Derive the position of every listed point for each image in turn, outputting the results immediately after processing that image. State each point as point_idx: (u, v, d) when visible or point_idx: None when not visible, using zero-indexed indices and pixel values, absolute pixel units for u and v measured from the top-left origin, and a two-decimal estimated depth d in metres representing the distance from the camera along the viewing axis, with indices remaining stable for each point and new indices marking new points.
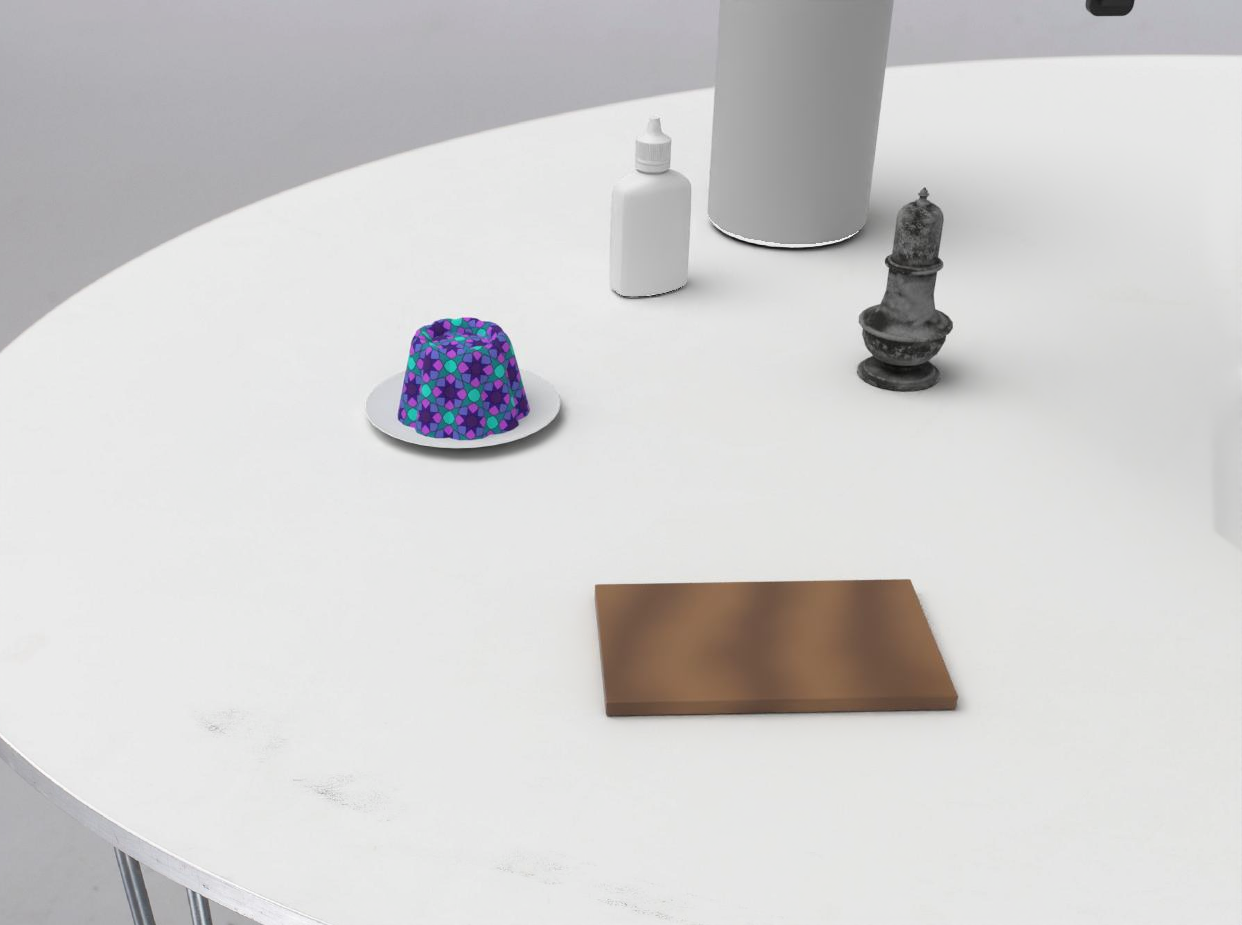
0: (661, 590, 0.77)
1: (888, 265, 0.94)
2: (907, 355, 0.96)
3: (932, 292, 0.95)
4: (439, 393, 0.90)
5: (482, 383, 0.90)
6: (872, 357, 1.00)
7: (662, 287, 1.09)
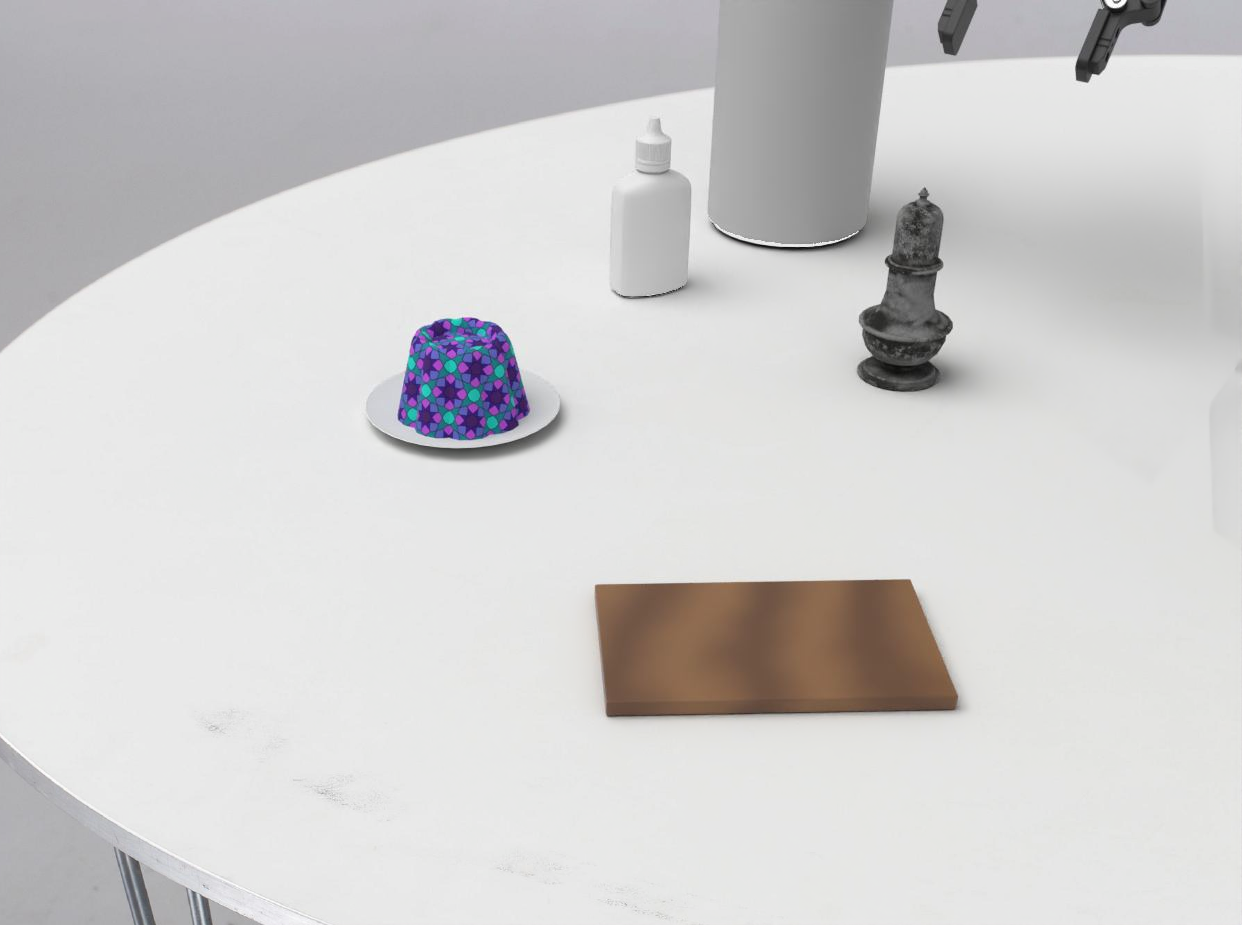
0: (661, 590, 0.77)
1: (888, 265, 0.94)
2: (907, 355, 0.96)
3: (932, 292, 0.95)
4: (439, 393, 0.90)
5: (482, 383, 0.90)
6: (872, 357, 1.00)
7: (662, 287, 1.09)
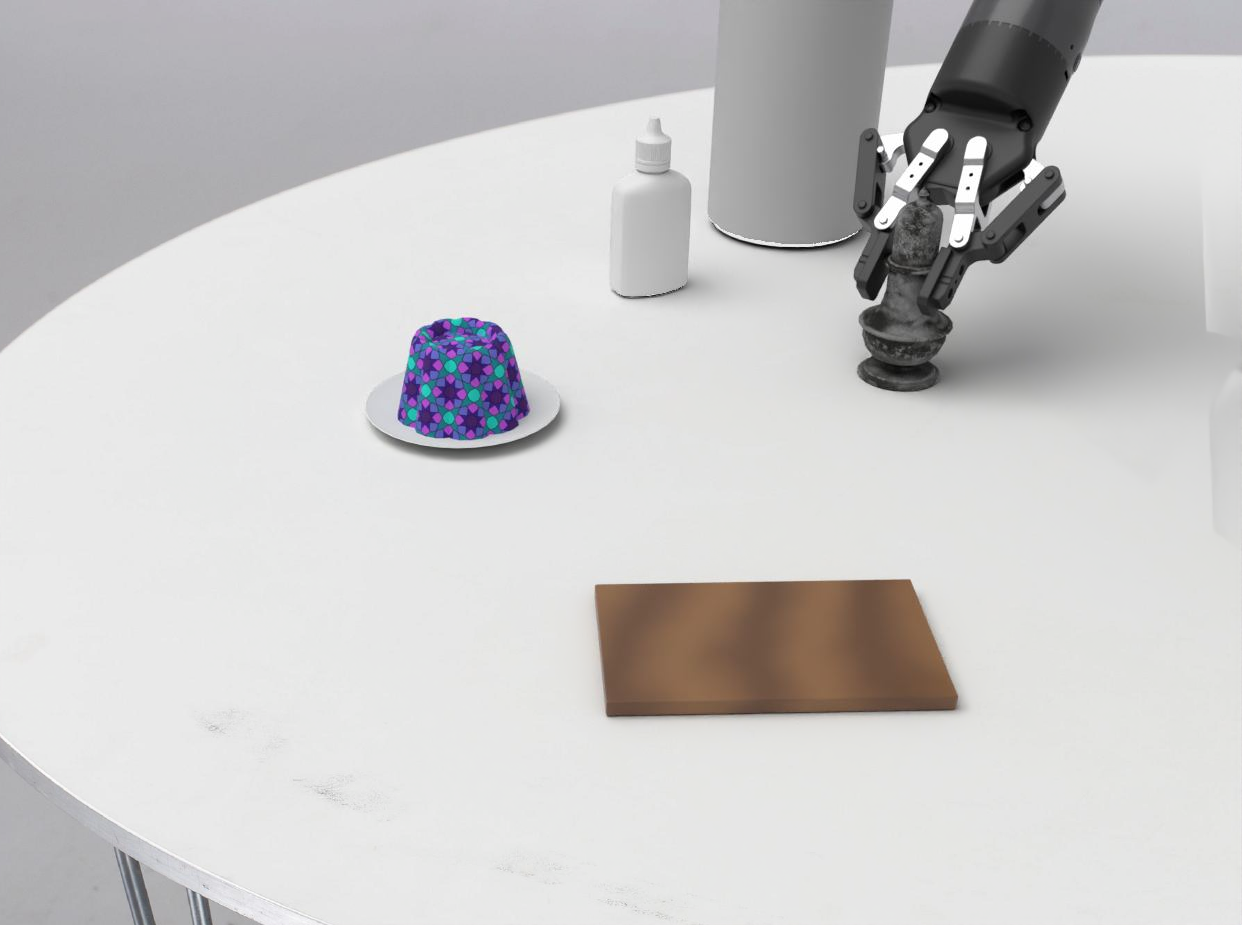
0: (661, 590, 0.77)
1: (888, 265, 0.94)
2: (907, 354, 0.96)
3: None
4: (439, 393, 0.90)
5: (482, 383, 0.90)
6: (872, 357, 1.00)
7: (662, 287, 1.09)
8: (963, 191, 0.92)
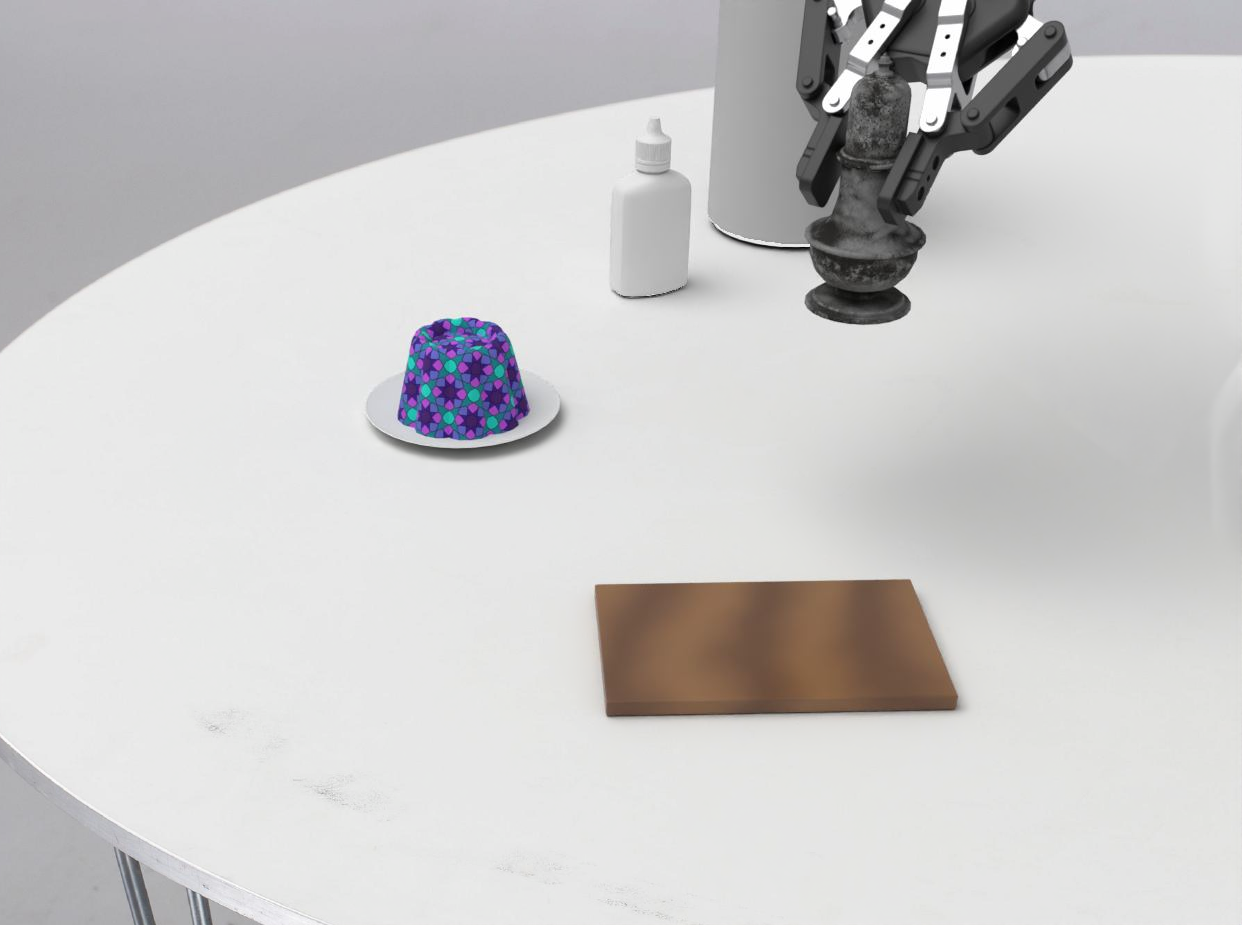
0: (661, 590, 0.77)
1: (840, 158, 0.72)
2: (865, 276, 0.74)
3: None
4: (439, 393, 0.90)
5: (482, 383, 0.90)
6: (824, 284, 0.78)
7: (662, 287, 1.09)
8: (937, 58, 0.70)
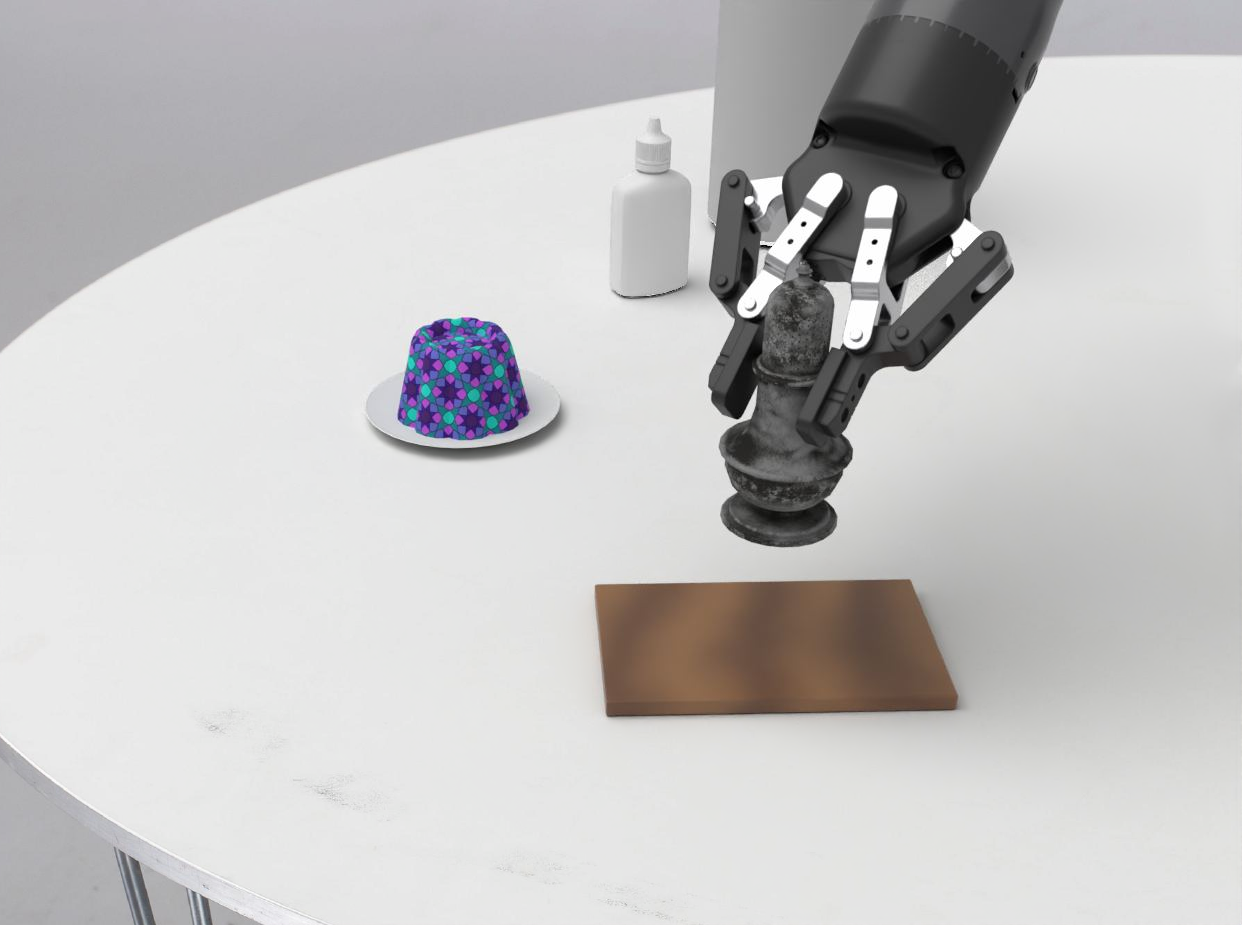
0: (661, 590, 0.77)
1: (756, 371, 0.65)
2: (785, 498, 0.66)
3: None
4: (439, 393, 0.90)
5: (482, 383, 0.90)
6: None
7: (662, 287, 1.09)
8: (863, 266, 0.63)
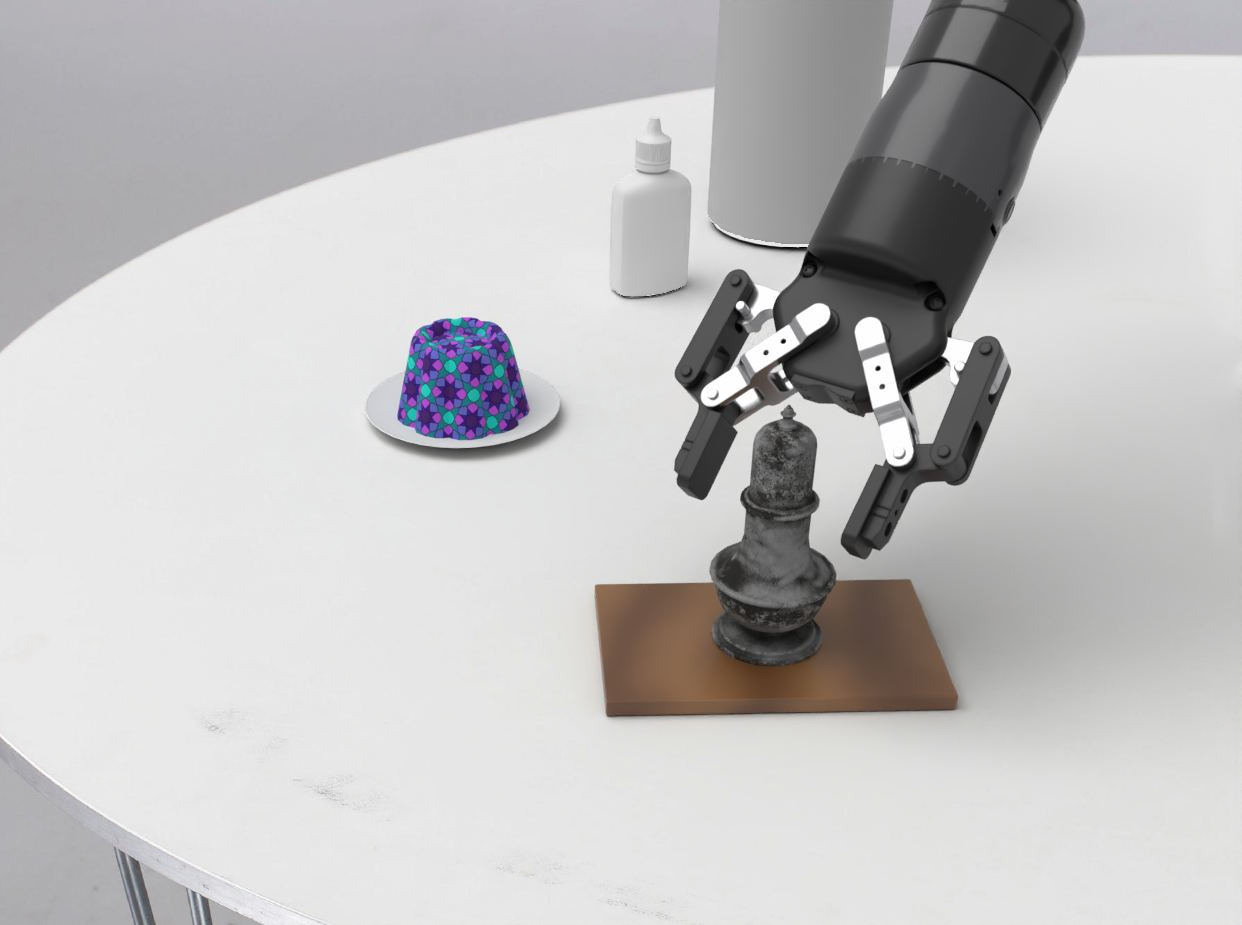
0: (661, 590, 0.77)
1: (744, 504, 0.69)
2: (772, 622, 0.70)
3: (805, 539, 0.69)
4: (439, 393, 0.90)
5: (482, 383, 0.90)
6: None
7: (662, 287, 1.09)
8: (878, 392, 0.66)
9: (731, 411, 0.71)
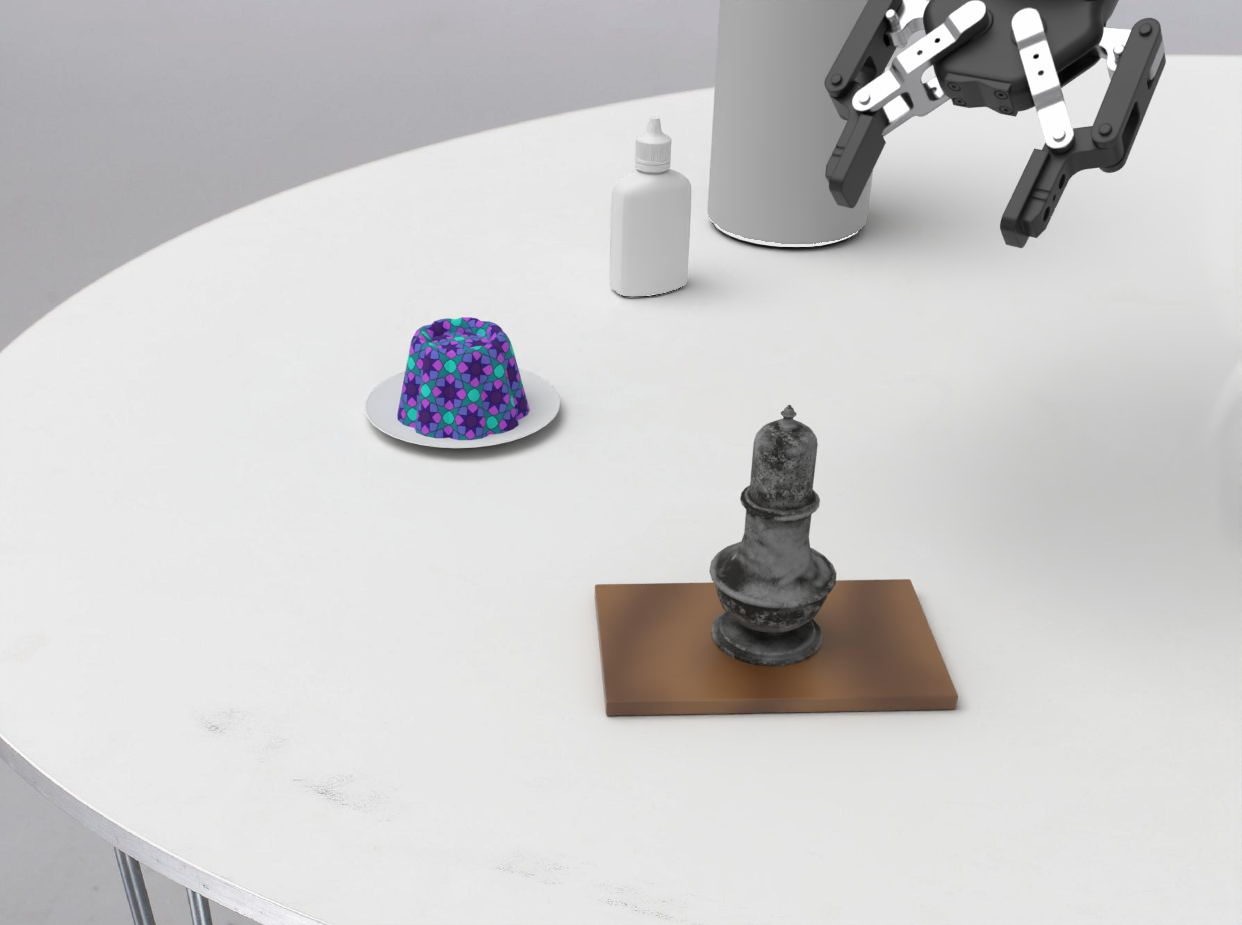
0: (661, 590, 0.77)
1: (744, 504, 0.69)
2: (772, 622, 0.70)
3: (805, 539, 0.69)
4: (439, 393, 0.90)
5: (482, 383, 0.90)
6: None
7: (662, 287, 1.09)
8: (1036, 78, 0.67)
9: (881, 119, 0.72)
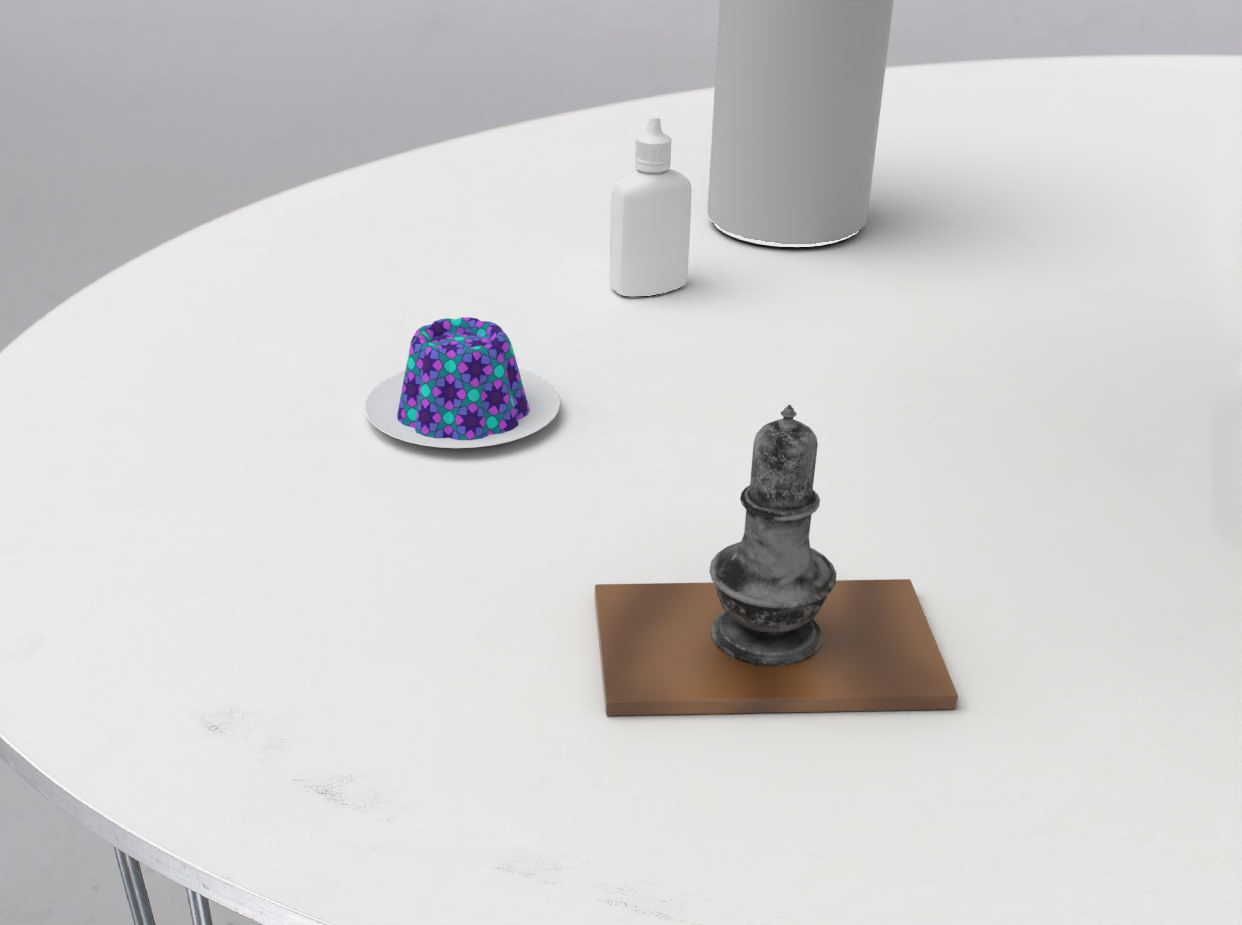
0: (661, 590, 0.77)
1: (744, 504, 0.69)
2: (772, 622, 0.70)
3: (805, 539, 0.69)
4: (439, 393, 0.90)
5: (482, 383, 0.90)
6: None
7: (662, 287, 1.09)
8: None
9: None
